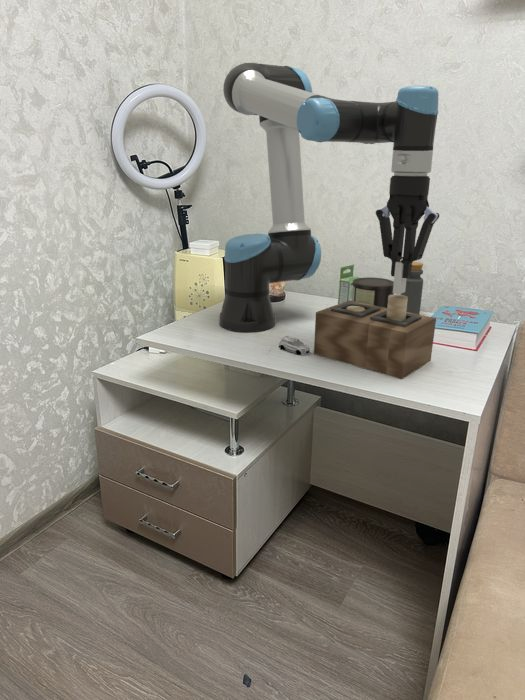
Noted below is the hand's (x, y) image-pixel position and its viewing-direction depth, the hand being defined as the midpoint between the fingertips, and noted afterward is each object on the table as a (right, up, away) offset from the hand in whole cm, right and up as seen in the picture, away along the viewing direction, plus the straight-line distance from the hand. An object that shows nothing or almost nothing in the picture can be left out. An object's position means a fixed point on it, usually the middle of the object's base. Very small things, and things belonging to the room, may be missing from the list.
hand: (398, 292), depth 111 cm
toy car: (-21, -13, +13) cm, 28 cm away
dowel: (0, -9, +4) cm, 10 cm away
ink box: (-3, -1, +44) cm, 44 cm away
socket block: (-4, -14, +9) cm, 17 cm away
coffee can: (-2, -9, +23) cm, 25 cm away
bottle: (+14, -2, +41) cm, 44 cm away
